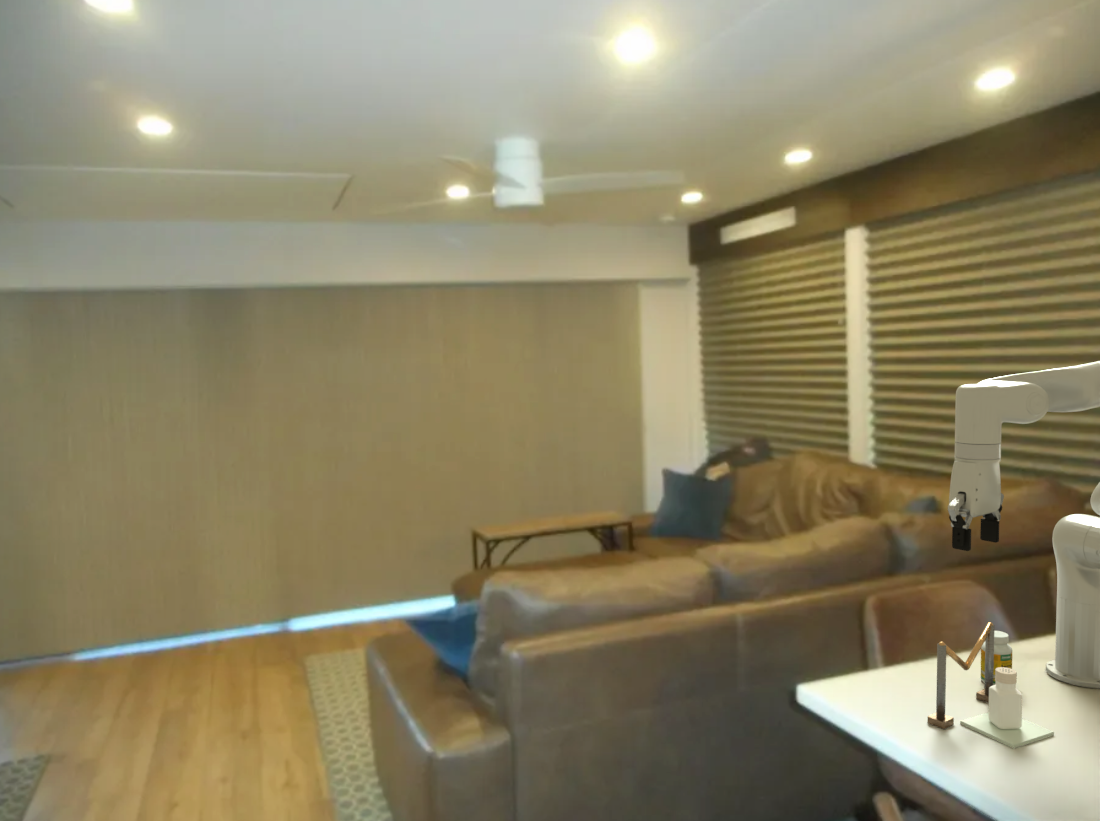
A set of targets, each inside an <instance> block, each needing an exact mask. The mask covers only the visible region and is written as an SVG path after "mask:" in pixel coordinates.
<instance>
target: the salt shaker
mask: <svg viewBox="0 0 1100 821" xmlns="http://www.w3.org/2000/svg"><path fill="white" fill-rule="evenodd" d="M1017 676H1018V674H1017V671H1016V669H1013V668H1012V669H1011V668H1006V667H998V668H996V669H995V681H996V685H993V686H991V687H989V703H988V711H987V712H988V718H989V720H990V721H991V722H992V723H993V724H994V725H995V726H997V727H998V728H1000V729H1019V728H1021V726H1022V718H1023V717H1022V716H1023V694H1022V692H1021V691H1020V690H1019V689H1018V688H1016V687H1017V679H1018V678H1017Z"/></svg>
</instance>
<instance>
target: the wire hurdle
mask: <svg viewBox="0 0 1100 821" xmlns="http://www.w3.org/2000/svg"><path fill="white" fill-rule="evenodd" d="M994 631H995V625H994V624H993V622H990V621H988V622H987V623H986V624H985V627H984V628H983V630H982V632H981V634H980V635H979V637H978V639H977V641H976V643H975V645H974V646H973V648H972V649H971V651H970V653H969V655H968V657H967V659H966V661H964V660H963V659H962V658H961V657H960V656H959V655H958V654H956V652H954V650H953V649H951V647H949V646H948V645H947V644H946V643H945V642H944V641H939V643H937V644H936V646H937V647H936V649H937V650H936V697H935V698H936V699H935V700H936V703H935V704H936V706H935V707H936V708H935V710H936V712H934V713H932V714H930V715H928V716H927V724H928V725H931V726H934V727H937V728H940V729H943V730H946V729H948V728H949V727H952V726H953V725H954V720H955V718H954V717H953V716H951V715H947V714H946V695H947V694H946V688H947V685H946V684H947V683H946V682H947V679H946V678H947V655H948V656H949V657H950V658H951V659H952V660H953V661H954V662H955V663H956V664H958V665H959V667H961V668H962V669H963V670H964V671H968V670H970V668H971V667H972V664H973V663H974V661H975V659H976V658H977V656H978V654H979V652H980V651H981V647H982V645H983V643H984V642H985V683H984V688H983V689H981V690H979V691H977V692H976V693H975V699H976V700H977V701H980V702H983V703H987V704H989V687H991V686H993V670H994Z"/></svg>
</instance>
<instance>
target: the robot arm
mask: <svg viewBox="0 0 1100 821" xmlns="http://www.w3.org/2000/svg"><path fill="white" fill-rule="evenodd" d="M954 408H955V412H954V413H955V415H954V419H955V420H954V461H953V465H952V469H951V476H950V485H949V497H948V505H947V511H948V514H949V516H948V518H949V521H950V527H951V529H952V531H951V536H952V537H951V539H952V540H951V547H952V549H955V550H960V551H964V552H965V551H966V552H970V551H971V549H972V528H970V526H971V523H972V520H973V518H976V517H981V516H982V518H980V540H981V541H985V542H990V543H999V542H1000V520H1001V518H1002V516H1001V512H1002V510H1003V502H1004V500H1005V499H1004V498H1005V495H1004V493H1002V486H1001V485H1002V483H1001V482H1002V481H1001V478H1002V477H1001V466H1000V462H1002V459H1001V458H1002V426H1003V425H1002V424H1003V423H1010V424H1011V423H1012V424H1020V425H1025V424H1027V425H1028V424H1032V423H1036V422H1037V421H1040V420H1041V419H1042V418H1044V417H1045V415H1046V414H1047V412H1048V413H1049V412H1051V413H1073V412H1082V411H1083V412H1084V411H1087V410H1090V409H1091V410H1092V409H1095V408H1100V360H1097V361H1094V362H1093V361H1092V362H1088V363H1084V364H1078V365H1077V364H1076V365H1072V366H1066V367H1057V368H1051V369H1044V370H1038V371H1029V372H1022V373H1015V374H1008V375H1003V376H1001V375H1000V376H997V377H993V378H987V379H983V380H981V381H979V382H977V383H967V384H966V383H965V384H962V385H960V386H958V387H957V388H956V391H955V407H954ZM1090 496H1091V497H1090V500H1089V501H1090V506H1091V510H1093V512H1094V513H1095V514H1097V515H1099V516H1096V515H1091V514H1084V513H1074V514H1069V515H1066V516H1063V517H1062V518H1060V519H1059V520H1058V521H1057V523H1056V524H1055V525H1054V528H1053V530H1052V536H1051V537H1052V539H1051V540H1052V547H1053V553H1054V557H1055V562H1056V563H1055V564H1056V574H1057V576H1056V578H1057V581H1056V582H1057V583H1056V585H1057V586H1056V590H1057V591H1056V612H1055V613H1056V615H1055V616H1056V617H1055V619H1056V620H1055V621H1056V622H1055V650H1054V651H1055V655H1054V656H1055V658H1054V659H1052V660H1049V661H1047V662H1046V663H1045V671H1046V673H1047V674H1048V675H1050V676H1051V677H1052V678H1054V679H1056V680H1057V681H1060V682H1062V683H1063V682H1064V683H1066V684H1069V685H1074V686H1078V687H1083V688H1090V689H1100V481H1099V482H1098V484H1096V486H1095V488H1094V489H1093V491H1092V493H1091V495H1090ZM964 518H965V519H964Z"/></svg>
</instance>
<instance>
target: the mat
mask: <svg viewBox="0 0 1100 821" xmlns="http://www.w3.org/2000/svg"><path fill="white" fill-rule="evenodd" d="M959 722H960V725H962V726H963V727H966V728H968V729H970V730H972V731H974V732H977V733H980V734H981V735H983V736H985V737H988V738H990V739H993V740H994V741H997V742H999V743H1001V744H1003V745H1005V746H1007V747H1009V748H1012V749H1017V748H1020V747H1022V746H1025V745H1028V744H1031V743H1035V742H1038V741H1040V740H1043V739H1047V738H1049V737H1053V736H1054V735H1055V731H1053V730H1052V729H1049V728H1047V727H1044V726H1042V725H1039V724H1037V723H1036V722H1035V723H1034V722H1032V721H1030V720H1027V719H1025V718H1023V717H1022V726H1021V728H1019V729H1000V728H998V727H997V726H995V725H994V724H993V723H992V722H991V721H990V720H989V718H988V711H987V712H984V713H981V714H977V715H974V716H970V717H967V718H965V719H961V720H960V721H959Z"/></svg>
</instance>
